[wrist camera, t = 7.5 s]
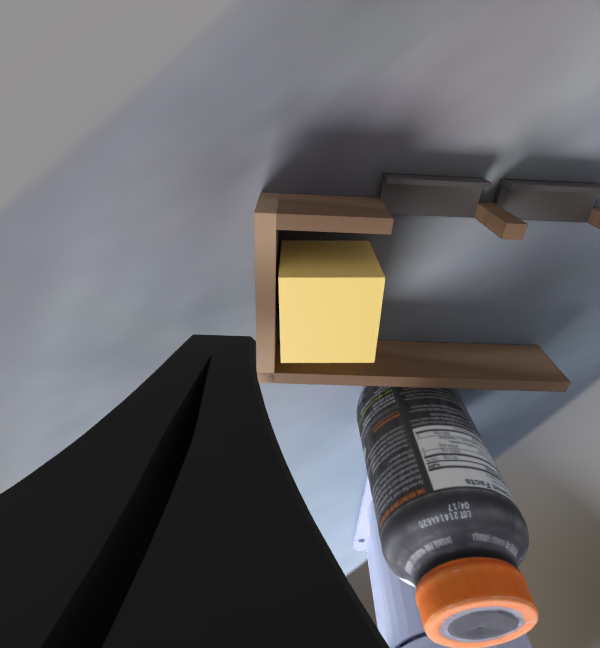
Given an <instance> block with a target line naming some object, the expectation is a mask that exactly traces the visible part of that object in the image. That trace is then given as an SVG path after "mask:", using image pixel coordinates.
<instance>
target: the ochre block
mask: <svg viewBox="0 0 600 648" xmlns="http://www.w3.org/2000/svg"><path fill="white" fill-rule="evenodd" d="M278 283H279V318H280V354H281V363H374V362H375V354H376V346H377V339H378V331H379V323H380V316H381V308H382V301H383V293H384V285H385V275H384V273H383V271H382V269H381V266H380V264H379V262H378V260H377V257H376V255H375V253H374V251H373V249H372V246H371V244H370V242H369V241H282V242H281V253H280V265H279V276H278Z"/></svg>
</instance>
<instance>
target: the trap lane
mask: <svg viewBox="0 0 600 648" xmlns="http://www.w3.org/2000/svg"><path fill="white" fill-rule="evenodd" d="M491 186H492V183H491V182H489V181H487V180H485V179H484V178H477V177H455V176H433V175H412V174H390V173H383V176H382V183H381V190H380V197H379V198H378V197H355V196H332V195H310V194H287V193H264V192H261V193H260V196H259V199H258V202H257V205H256V209H255V212H254V230H255V289H256V348H257V377H258V382H259V383H290V384H323V385H356V386H390V387H423V388H456V389H489V390H523V391H556V392H566V390H567V388H568V386H569V385H570V383H571V382H570V381H569V380H568V379H567V377H566V376H565V375H564V374H563V373H562V372H561V371H560V370H559V369H558V367H557V366H556V365H555V364H554V363H553V362H552V361H551V360H550V359H549V358H548V356H547V355H546V354H545V353H544V352H543V351H542V350H541V349H540V348H539V346H535V345H505V344H475V343H445V342H415V341H385V340H377V346H376V354H375V362H374V363H281V354H280V337H277V310H278V250H279V230H294V231H318V232H342V233H367V234H391V233H392V227H393V221H394V218H393V217H392V215H391V214H402V215H425V216H449V217H472V218H475V219H477V220H478V221H479V222H481V223H482V224H483V225H484V226H486V227H487V228H488V229H489V230H491V231H492V232H493V233H495V234H496V235H497V236H498V237H500V238H501V239H512V240H523V237H524V234H525V232H526V229H527V226H528V224H527V223H525V222H524V221H522V220H542V221H565V222H587V223H589V224H591V225H593V226H595V227H597V228H599V229H600V207H594V204H595V202H596V200H597V197H598V195H599V193H600V183H586V182H564V181H542V180H521V179H501V180H500V183H499V187H498V190H497V193H496V197H495V200H494V203H491V202H479V199H480V196H481V192H482V188H491Z"/></svg>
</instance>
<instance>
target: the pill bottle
mask: <svg viewBox="0 0 600 648" xmlns="http://www.w3.org/2000/svg"><path fill="white" fill-rule="evenodd" d="M357 422H358V426H359V432H360V437H361V442H362V446H363V452H364V456H365V462H366V468H367V474H368V479H369V483H370V489H371V494H372V499H373V504H374V509H375V515H376V520H377V525H378V531H379V537H380V542H381V547H382V552H383V556H384V558H385V561H386V563H387V564H388V566H389V568H390V569H391V571H392V572H393V573H394V574H395V575H396V576H397V577H399V578H400V579H401V580H402V581H404V582H406V583H407V584H409V585H411V586H413V587H416V594H415V599H416V604H417V606H418V609H419V612H420V615H421V620H422V624H423V627H424V630H425V633H426V635H427V636H428V637H429V638H430V639H431V640H432V641H433V642H435V643H438V644H440V645H443V646H447V647H453V648H480V647H488V646H493V645H498V644H502V643H505V642H508V641H511V640H513V639H516V638H518V637H520V636H522V635H523V634H525V633H527V632H528V631H530V630H531V629H532V628H533V627H534V625H535V624H536V623H537V621H538V610H537V608H536V605H535V603H534V601H533V599H532V596H531V594H530V592H529V589H528V587H527V583H526V580H525V578H524V577H523V575H522V574H521V572H520V571H519V570H518V566H519V565H520V564H521V562H522V561H523V560H524V558H525V556H526V553H527V549H528V545H529V534H528V529H527V525H526V523H525V521H524V519H523V517H522V515H521V513H520V511H519V509H518V507H517V505H516V503H515V502H514V500H513V498H512V496H511V494H510V492H509V490H508V488H507V486H506V484H505V482H504V480H503V478H502V476H501V474H500V472H499V471H498V469H497V467H496V465H495V463H494V461H493V459H492V457H491V455H490V453H489V452H488V450H487V448H486V446H485V444H484V442H483V440H482V438H481V437H480V434H479V433H478V431H477V429H476V427H475V425H474V423H473V421H472V419H471V417H470V415H469V414H468V411H467V409H466V407H465V406H464V404H463V402H462V400H461V398H460V396H459V394H458V392H457V390H456V388H423V387H390V386H368V387H367V388H366V390H365V391H364V392H363V394H362V395H361V397H360V399H359V402H358V406H357Z"/></svg>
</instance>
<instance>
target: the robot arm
mask: <svg viewBox="0 0 600 648" xmlns="http://www.w3.org/2000/svg"><path fill="white" fill-rule="evenodd" d="M353 548H354V549H355V550H357V551H367V558H368V565H369V571H370V578H371V585H372V592H373V599H374V606H375V613H376V619H377V626H378V629H377V627H376V625H375V624H374V622H373V621H372V619H371V617H370V616H369V614H368V612H367V611H366V609H365V608H364V606H363V604H362V603H361V601H360V600H359V598H358V597H357V595H356V593H355V592H354V590H353V588H352V587H351V585H350V584H349V582H348V580H347V578H346V577H345V575H344V573H343V571H342V569H341V568H340V566H339V564H338V562H337V561H336V559H335V557H334V555H333V554H332V552H331V550H330V548H329V546H328V545H327V543H326V541H325V539H324V538H323V536H322V534H321V532H320V530H319V529H318V527H317V525H316V523H315V522H314V520H313V518H312V516H311V514H310V512H309V510H308V508H307V506H306V504H305V502H304V500H303V498H302V496H301V494H300V492H299V490H298V488H297V486H296V484H295V481H294V479H293V477H292V475H291V473H290V470H289V468H288V466H287V464H286V461H285V459H284V457H283V454H282V452H281V449H280V447H279V444H278V442H277V439H276V437H275V434H274V431H273V428H272V426H271V423H270V420H269V417H268V414H267V411H266V408H265V404H264V401H263V397H262V393H261V390H260V386H259V382H258V377H257V371H256V341H255V340H254V339H253V338H252V337H251V336H221V335H192V336H191V337H190V338H189V339H188V340H187V341H186V342H185V343H184V344H183V345H182V346H181V347H180V348H179V349H178V350H176V351H175V352H174V353H173V354H172V355H171V356H170V357H169V358H168V359H167V360H166V361H165V362H164V363H163V364H162V365H161V366H160V367H159V368H158V369H157V370H156V371H155V372H154V373H153V374H152V375H151V376H150V377H149V378H148V379H147V380H146V381H144V382H143V383H142V384H141V385H140V386H139V387H138V388H137V389H136V390H135V391H134V392H133V393H131V394H130V395H129V396H128V397H127V398H126V399H125V400H124V401H123V402H122V403H120V404H119V405H118V406H117V407H116V408H115V409H113V410H112V411H111V412H110V413H109V414H107V415H106V416H105V417H104V418H103V419H101V420H100V421H99V422H98V423H97V424H96V425H94V426H93V427H92V428H91V429H90V430H88V431H87V432H86V433H85V434H84V435H82V436H81V437H80V438H78V439H77V440H76V441H75V442H73V443H72V444H71V445H69V446H68V447H67V448H66V449H64V450H63V451H62V452H60V453H59V454H57V455H56V456H55V457H53V458H52V459H51V460H49V461H48V462H46V463H45V464H44V465H42V466H41V467H39V468H38V469H37V470H35V471H34V472H32V473H31V474H30V475H28V476H27V477H25V478H24V479H23V480H21V481H20V482H18V483H17V484H15V485H14V486H12V487H11V488H9V489H8V490H6V491H5V492H3V493H1V494H0V648H453V647H447V646H443V645H440V644H438V643H435V642H433V641H432V640H431V639H430V638H429V637H428V636H427V635H426V633H425V630H424V627H423V624H422V620H421V615H420V612H419V609H418V606H417V604H416V599H415V594H416V587H413V586H411V585H409V584H407V583H406V582H404V581H402V580H401V579H400V578H399V577H397V576H396V575H395V574H394V573H393V572H392V571H391V569H390V568H389V566H388V564H387V563H386V561H385V558H384V556H383V552H382V547H381V542H380V537H379V531H378V525H377V520H376V515H375V509H374V504H373V499H372V494H371V489H370V483H369V479H368V474H367V478H366V483H365V488H364V493H363V497H362V502H361V507H360V512H359V517H358V521H357V526H356V531H355V536H354V540H353ZM480 648H532V647H531V644H530V642H529V639H528V637H527V635H526V633H525V634H523V635H522V636H520V637H518V638H516V639H513V640H511V641H508V642H505V643H502V644H498V645H493V646H488V647H480Z"/></svg>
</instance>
